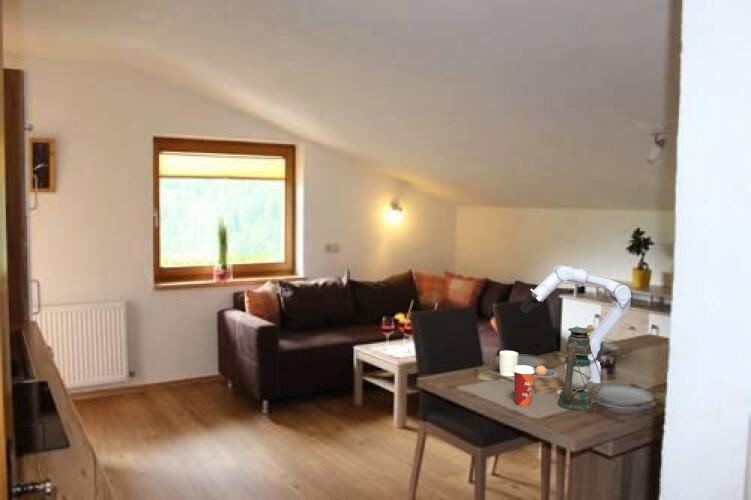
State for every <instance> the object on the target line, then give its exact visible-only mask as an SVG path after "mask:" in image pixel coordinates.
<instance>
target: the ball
mask: <svg viewBox="0 0 751 500" xmlns="http://www.w3.org/2000/svg"><path fill="white" fill-rule="evenodd" d="M535 368H536V370H535V373H536V375H537V376H545V375H546V374H547V369H548V368H546V367H545V366H544V365H538V366H537V367H535Z"/></svg>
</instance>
